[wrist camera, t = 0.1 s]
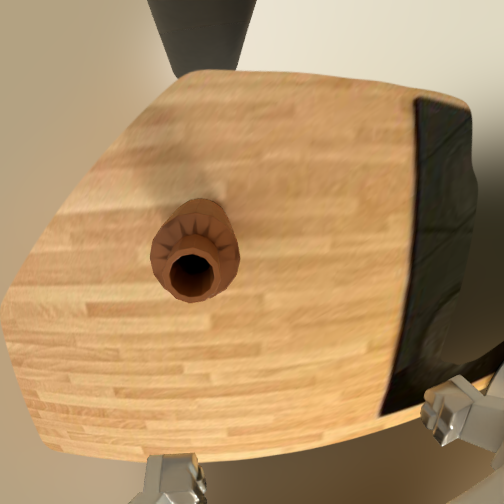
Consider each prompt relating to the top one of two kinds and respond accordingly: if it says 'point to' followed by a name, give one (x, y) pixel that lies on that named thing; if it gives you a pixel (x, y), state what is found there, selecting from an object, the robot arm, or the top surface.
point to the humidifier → (497, 383)
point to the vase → (195, 252)
